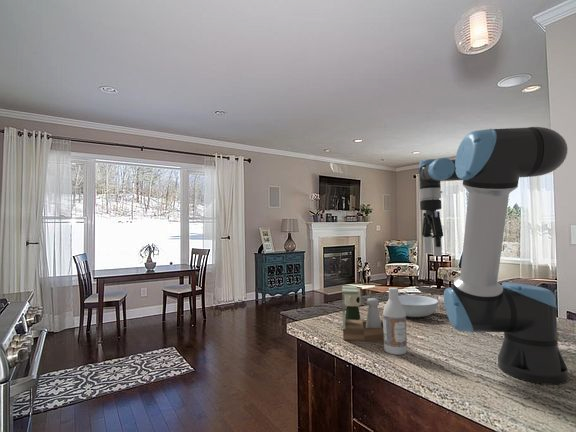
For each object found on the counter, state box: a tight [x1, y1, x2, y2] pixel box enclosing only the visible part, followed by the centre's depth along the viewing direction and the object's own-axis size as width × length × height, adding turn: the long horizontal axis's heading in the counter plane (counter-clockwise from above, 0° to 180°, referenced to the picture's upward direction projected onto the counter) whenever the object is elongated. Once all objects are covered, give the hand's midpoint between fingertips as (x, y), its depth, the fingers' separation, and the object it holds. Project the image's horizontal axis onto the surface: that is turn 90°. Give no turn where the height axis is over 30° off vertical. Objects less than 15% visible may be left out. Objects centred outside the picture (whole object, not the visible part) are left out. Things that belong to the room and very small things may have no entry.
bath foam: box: [382, 287, 408, 356], centre depth 104 cm, size 7×7×20 cm
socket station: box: [341, 285, 384, 343], centre depth 119 cm, size 12×17×17 cm
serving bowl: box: [387, 294, 439, 318], centre depth 145 cm, size 21×21×7 cm
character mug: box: [345, 288, 362, 320], centre depth 138 cm, size 11×7×13 cm, turn 158°
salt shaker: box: [366, 297, 382, 328], centre depth 118 cm, size 6×6×13 cm
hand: (432, 254), depth 125 cm, fingers open, 13 cm apart
